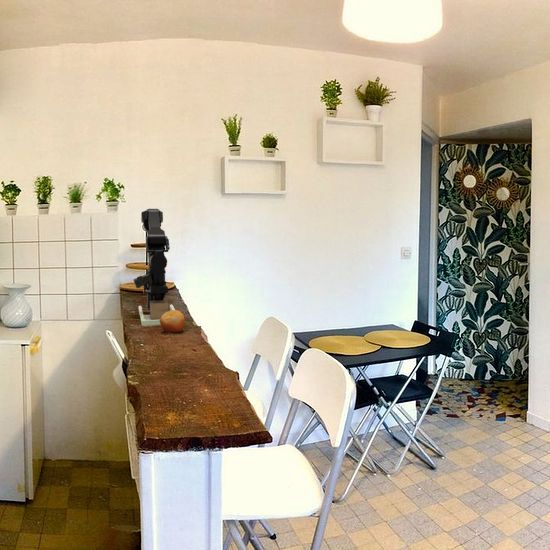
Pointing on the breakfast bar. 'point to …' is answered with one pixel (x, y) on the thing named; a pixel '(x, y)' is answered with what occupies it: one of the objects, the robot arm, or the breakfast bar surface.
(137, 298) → the breakfast bar surface
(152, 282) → the robot arm
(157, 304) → the walnut block
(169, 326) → the fruit
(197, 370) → the breakfast bar surface
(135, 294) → the breakfast bar surface
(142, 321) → the trap channel
